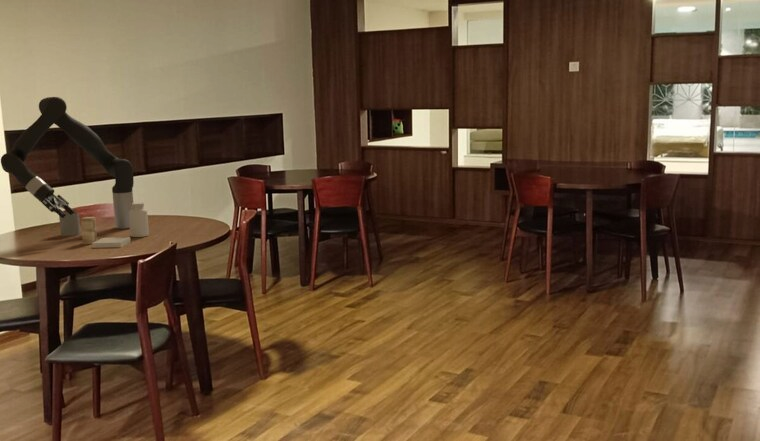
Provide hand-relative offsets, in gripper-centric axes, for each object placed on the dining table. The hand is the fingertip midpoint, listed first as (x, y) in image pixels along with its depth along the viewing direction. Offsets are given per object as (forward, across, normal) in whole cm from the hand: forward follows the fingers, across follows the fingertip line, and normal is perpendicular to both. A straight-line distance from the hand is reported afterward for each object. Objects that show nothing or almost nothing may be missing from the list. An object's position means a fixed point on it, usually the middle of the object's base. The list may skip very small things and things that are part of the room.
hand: (68, 214), depth 327 cm
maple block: (+15, 0, +3) cm, 15 cm away
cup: (+2, +22, +16) cm, 27 cm away
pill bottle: (+27, +14, -9) cm, 32 cm away
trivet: (+23, -6, -5) cm, 24 cm away
